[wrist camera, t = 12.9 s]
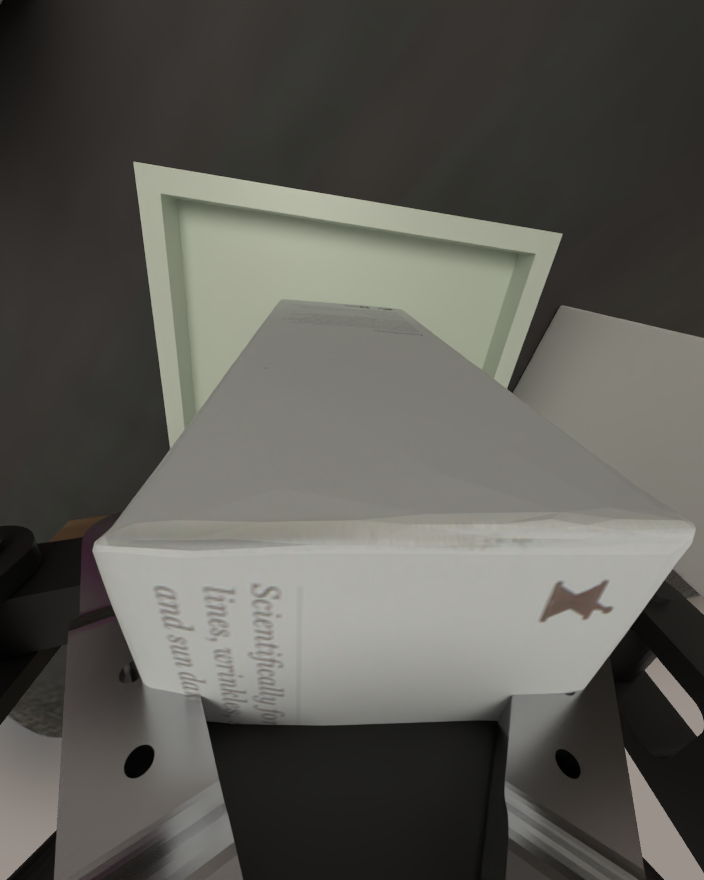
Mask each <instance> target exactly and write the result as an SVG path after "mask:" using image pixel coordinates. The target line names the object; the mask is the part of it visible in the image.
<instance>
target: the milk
mask: <svg viewBox="0 0 704 880" xmlns="http://www.w3.org/2000/svg"><path fill="white" fill-rule="evenodd" d="M513 394H514V395H515V396H517V397H518V398H519V399H521V400H522V401H523V402H525V403H526V404H527V405H529V406H530V407H531V408H533V409H534V410H535V411H537V412H538V413H539V414H541V415H542V416H543V417H545V418H546V419H547V420H549V421H550V422H551V423H553V424H554V425H555V426H557V427H558V428H559V429H561V430H562V431H563V432H565V433H566V434H567V435H569V436H570V437H571V438H572V439H574V440H575V441H576V442H578V443H579V444H580V445H582V446H583V447H584V448H586V449H587V450H588V451H590V452H591V453H592V454H594V455H595V456H597V457H598V458H599V459H601V460H602V461H603V462H605V463H606V464H608V465H609V466H610V467H612V468H613V469H615V470H616V471H617V472H619V473H620V474H621V475H623V476H624V477H625V478H627V479H628V480H629V481H631V482H632V483H633V484H635V485H636V486H637V487H639V488H640V489H641V490H643V491H644V492H646V493H647V494H649V495H650V496H652V497H654V498H655V499H657V500H658V501H660V502H661V503H663V504H664V505H666V506H668V507H669V508H671V509H672V510H674V511H676V512H677V513H679V514H680V515H682V516H684V517H685V518H687V519H689V520H690V521H692V522H693V523H694V525H695V528H696V531H695V535H694V538H693V542H692V544H691V545H690V547H689V548H688V549H687V551H686V552H685V553H684V554H683V556H682V557H681V558H680V560H679V561H678V562H677V563H676V565H675V566H674V567H673V570H674V571H675V572H676V573H677V574H678V575H680V576H681V577H682V578H683V579H684V580H685V581H686V582H687V583H688V584H689V585H690V586H691V587H692V588H693V589H694V590H695V591H697V592H698V593H699V594H700V595H701V596H702V597H703V598H704V338H701V337H696V336H692V335H688V334H684V333H679V332H675V331H671V330H666V329H662V328H658V327H654V326H649V325H645V324H641V323H636V322H632V321H628V320H624V319H619V318H615V317H611V316H606V315H602V314H598V313H594V312H589V311H585V310H581V309H577V308H572V307H568V306H560V307H559V308H558V310H557V312H556V314H555V316H554V318H553V319H552V321H551V323H550V325H549V327H548V329H547V331H546V332H545V334H544V336H543V338H542V340H541V342H540V343H539V345H538V347H537V349H536V351H535V353H534V354H533V356H532V358H531V360H530V362H529V364H528V366H527V367H526V369H525V371H524V373H523V375H522V377H521V378H520V380H519V382H518V384H517V386H516V388H515V390H514V391H513Z"/></svg>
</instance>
